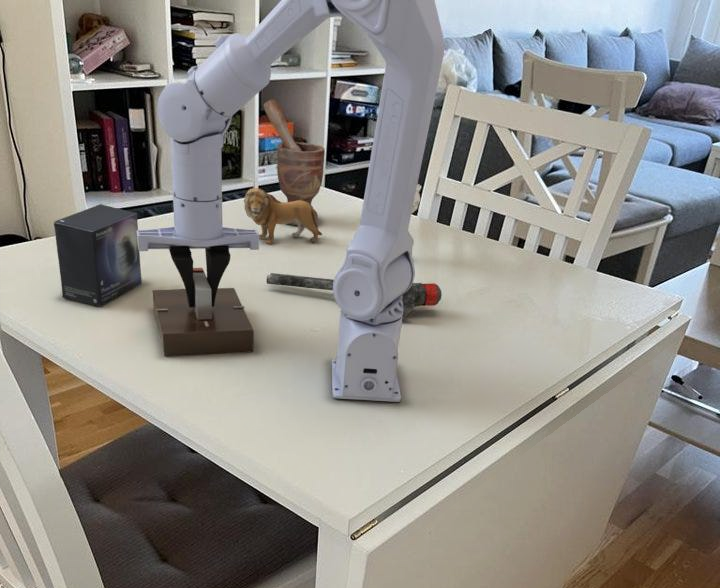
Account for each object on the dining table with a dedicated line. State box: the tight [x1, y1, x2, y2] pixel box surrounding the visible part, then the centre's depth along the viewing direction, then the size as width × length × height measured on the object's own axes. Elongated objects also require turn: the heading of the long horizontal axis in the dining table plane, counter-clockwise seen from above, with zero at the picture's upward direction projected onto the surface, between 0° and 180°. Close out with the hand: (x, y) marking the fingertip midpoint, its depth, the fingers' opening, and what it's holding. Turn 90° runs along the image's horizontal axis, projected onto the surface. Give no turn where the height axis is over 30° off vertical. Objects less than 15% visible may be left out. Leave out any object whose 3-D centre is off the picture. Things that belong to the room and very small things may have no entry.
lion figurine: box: [243, 187, 323, 245], centre depth 129 cm, size 15×5×9 cm, turn 118°
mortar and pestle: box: [263, 98, 326, 226], centre depth 137 cm, size 12×9×20 cm
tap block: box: [151, 287, 255, 357], centre depth 98 cm, size 14×11×3 cm
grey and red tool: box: [266, 272, 443, 320], centre depth 113 cm, size 6×26×15 cm
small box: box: [53, 203, 142, 307], centre depth 104 cm, size 11×6×10 cm, turn 161°
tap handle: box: [193, 267, 212, 320], centre depth 96 cm, size 7×2×4 cm, turn 18°
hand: (201, 304), depth 97 cm, fingers closed on tap handle, 2 cm apart
